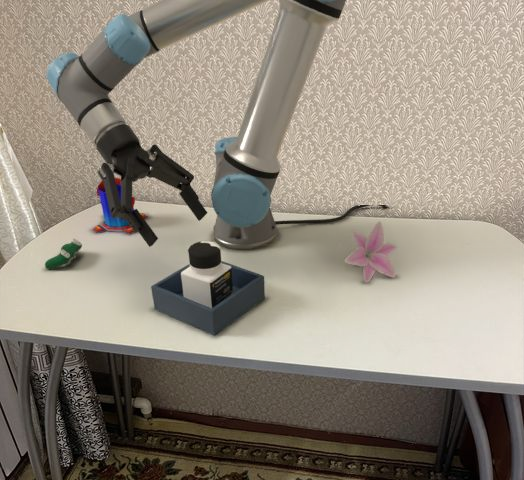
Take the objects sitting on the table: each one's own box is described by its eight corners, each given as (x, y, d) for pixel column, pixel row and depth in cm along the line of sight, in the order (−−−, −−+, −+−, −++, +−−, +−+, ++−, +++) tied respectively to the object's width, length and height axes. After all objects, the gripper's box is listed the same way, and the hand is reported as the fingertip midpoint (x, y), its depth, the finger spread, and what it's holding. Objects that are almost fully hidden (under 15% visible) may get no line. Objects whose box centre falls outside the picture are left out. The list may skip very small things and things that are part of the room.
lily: (333, 285, 119) (352, 258, 111) (335, 242, 125) (352, 213, 116) (385, 298, 121) (407, 272, 113) (384, 255, 127) (405, 228, 119)
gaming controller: (55, 277, 125) (69, 262, 122) (41, 266, 124) (54, 250, 121) (74, 258, 133) (87, 243, 129) (61, 247, 132) (74, 232, 128)
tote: (206, 276, 121) (204, 254, 118) (264, 298, 113) (264, 275, 110) (154, 309, 111) (150, 286, 108) (214, 335, 103) (212, 311, 100)
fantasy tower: (90, 232, 140) (79, 185, 133) (107, 213, 149) (98, 168, 142) (135, 234, 138) (127, 187, 131) (149, 214, 148) (143, 169, 140)
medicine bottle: (213, 314, 108) (208, 258, 100) (183, 304, 111) (176, 249, 103) (234, 297, 112) (230, 242, 105) (205, 288, 115) (200, 234, 108)
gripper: (151, 131, 115) (212, 216, 117) (50, 166, 100) (123, 264, 101) (166, 107, 110) (230, 197, 111) (62, 140, 94) (138, 244, 96)
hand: (179, 229), depth 106 cm, fingers open, 13 cm apart
